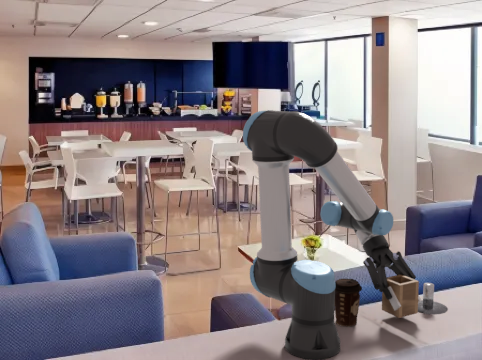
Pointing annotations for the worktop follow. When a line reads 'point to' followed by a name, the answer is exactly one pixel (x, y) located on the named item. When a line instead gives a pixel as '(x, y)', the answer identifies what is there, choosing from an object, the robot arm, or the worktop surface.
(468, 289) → the worktop surface
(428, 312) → the post stand
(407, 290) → the sleeve
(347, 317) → the coffee cup
